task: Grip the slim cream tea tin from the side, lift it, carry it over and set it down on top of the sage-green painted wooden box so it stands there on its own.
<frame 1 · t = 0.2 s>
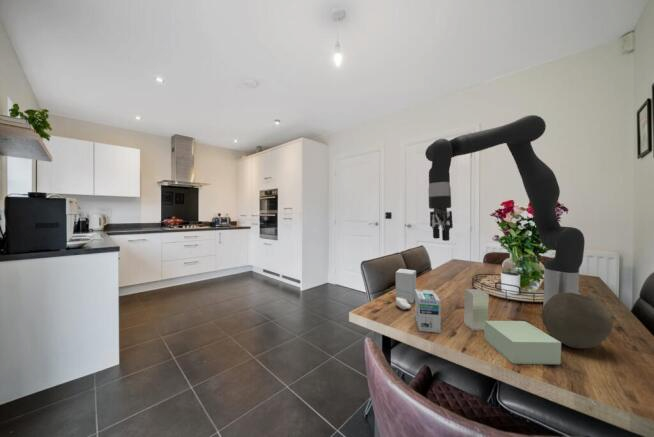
hand: (440, 239, 91), 28 cm above the table, tool pointing down, fingers open, 8 cm apart
supplement box: (405, 299, 109), on the table
light bulb box: (426, 325, 85), on the table
green box: (518, 351, 69), on the table
brown coconut: (573, 345, 72), on the table
dumpling: (403, 309, 99), on the table
tea tin: (475, 326, 83), on the table
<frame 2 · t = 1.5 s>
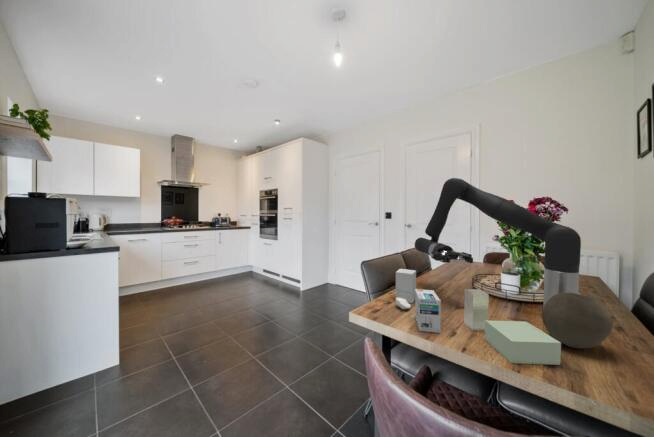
hand: (460, 260, 93), 20 cm above the table, tool horizontal, fingers open, 8 cm apart
nothing on the table moved.
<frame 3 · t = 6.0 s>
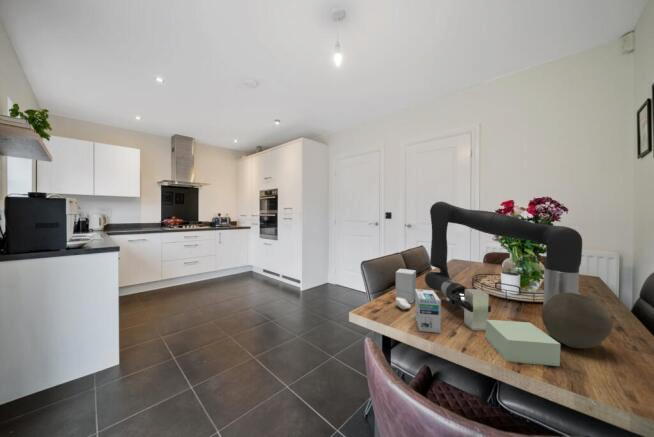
hand: (480, 309, 81), 7 cm above the table, tool horizontal, fingers closed on tea tin, 5 cm apart
tea tin: (475, 326, 83), on the table, touching gripper
everything else where it was.
when the fingers open (14 cm above the table, at t = 10.5 s): tea tin drops 2 cm, resting on green box.
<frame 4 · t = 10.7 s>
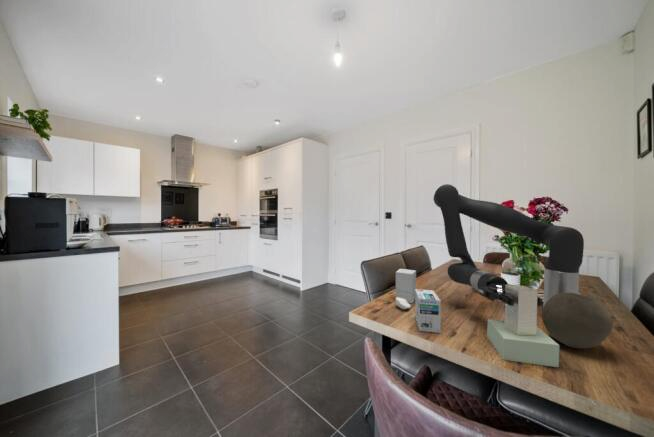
hand: (526, 302, 67), 14 cm above the table, tool horizontal, fingers open, 7 cm apart
green box: (519, 351, 69), on the table, touching tea tin
tea tin: (519, 330, 69), point 6 cm above the table, touching green box
everything else where it was.
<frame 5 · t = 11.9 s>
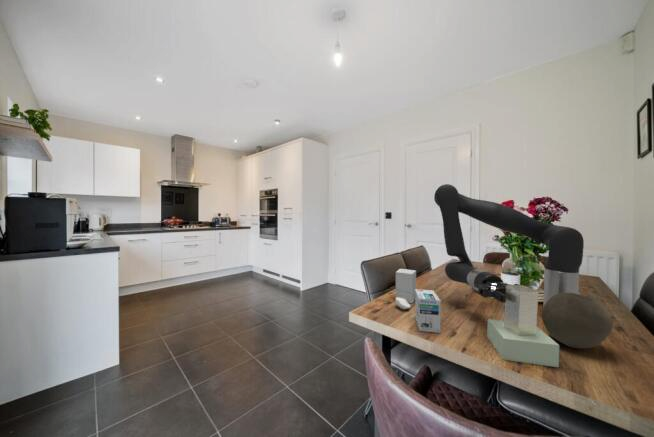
hand: (520, 299, 69), 14 cm above the table, tool horizontal, fingers open, 8 cm apart
green box: (519, 351, 69), on the table
tea tin: (519, 330, 69), point 6 cm above the table
everything else where it was.
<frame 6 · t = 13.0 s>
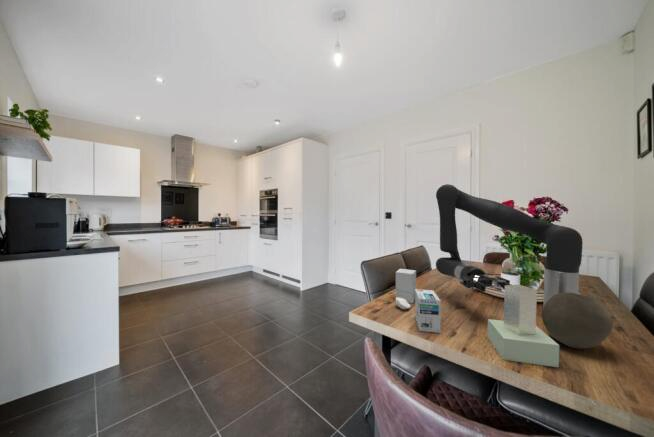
hand: (498, 288, 78), 14 cm above the table, tool horizontal, fingers open, 8 cm apart
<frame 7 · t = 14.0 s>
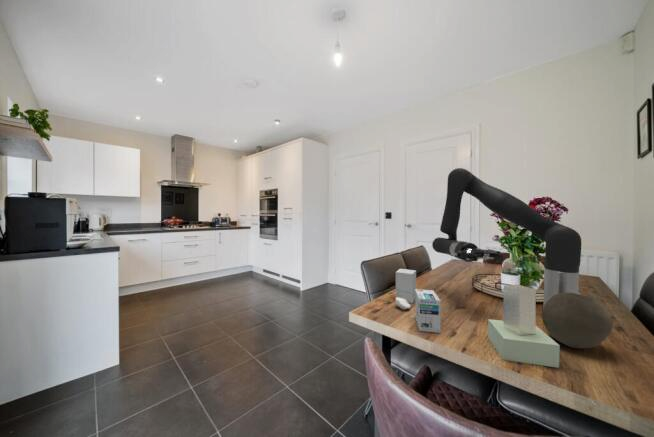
hand: (489, 257, 84), 23 cm above the table, tool horizontal, fingers open, 8 cm apart
nothing on the table moved.
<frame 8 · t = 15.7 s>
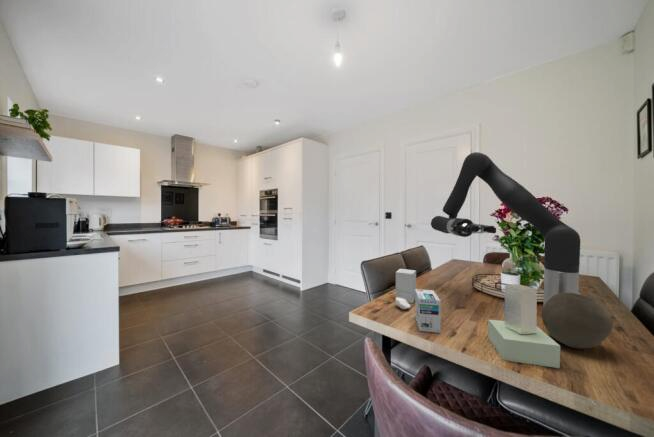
hand: (482, 230, 89), 32 cm above the table, tool horizontal, fingers open, 8 cm apart
green box: (519, 352, 69), on the table, touching tea tin
tea tin: (520, 329, 70), point 6 cm above the table, touching green box
everything else where it was.
at the end: tea tin inside the target area on the green box (0.6 cm from its centre), point 6.1 cm above the green box's base; tea tin tilted 1°; the gripper is holding nothing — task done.
